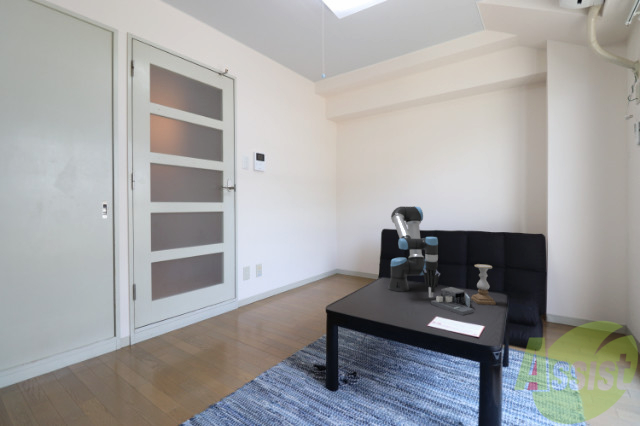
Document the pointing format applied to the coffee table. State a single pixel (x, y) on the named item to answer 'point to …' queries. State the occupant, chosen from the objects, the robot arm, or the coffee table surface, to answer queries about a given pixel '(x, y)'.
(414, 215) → the robot arm
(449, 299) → the fader
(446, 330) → the coffee table surface
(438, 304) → the console
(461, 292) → the cabinet
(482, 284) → the candle holder
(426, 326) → the coffee table surface
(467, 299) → the door
